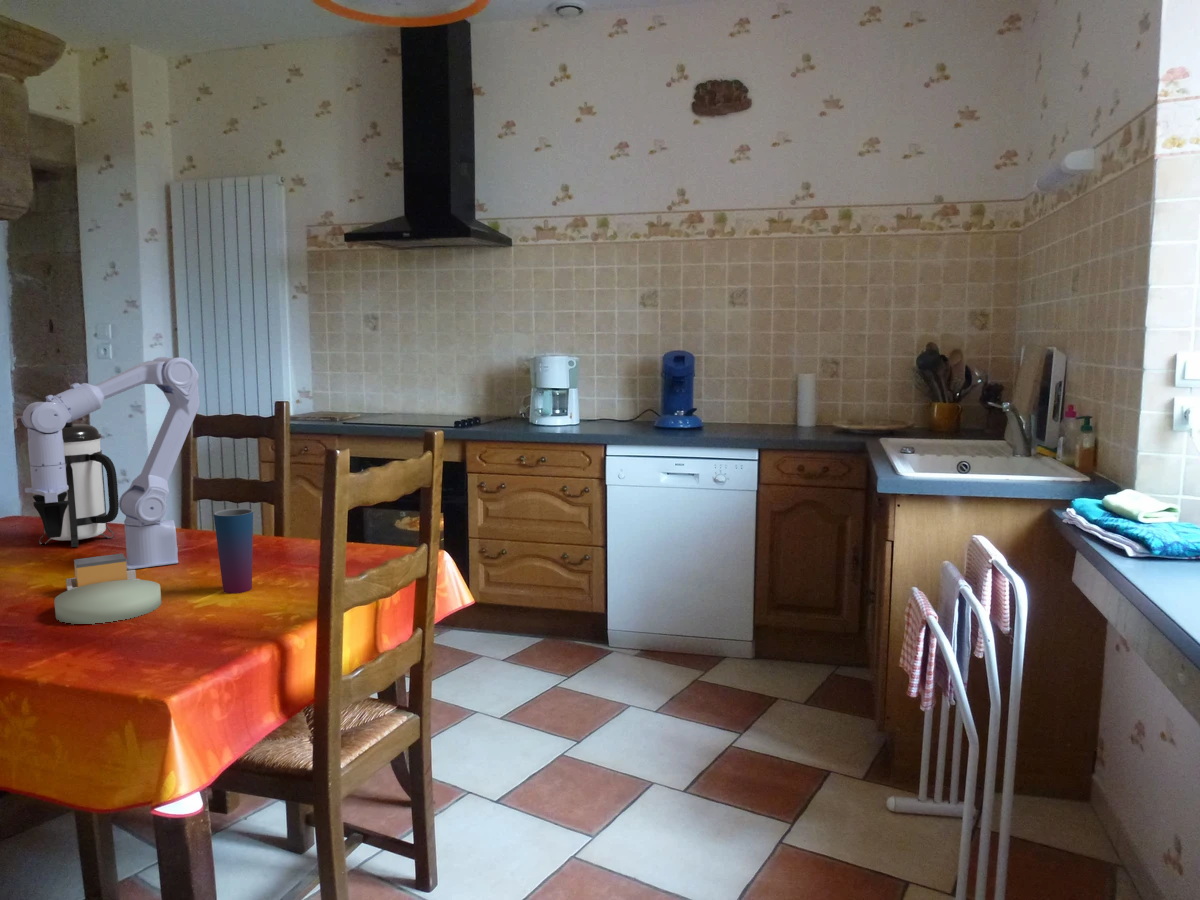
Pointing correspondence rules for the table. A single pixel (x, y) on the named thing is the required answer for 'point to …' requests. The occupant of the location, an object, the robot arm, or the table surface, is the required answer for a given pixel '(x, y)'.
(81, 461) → the coffee press
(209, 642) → the table surface
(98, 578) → the rectangular flat-faced block
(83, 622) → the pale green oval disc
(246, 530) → the cup
